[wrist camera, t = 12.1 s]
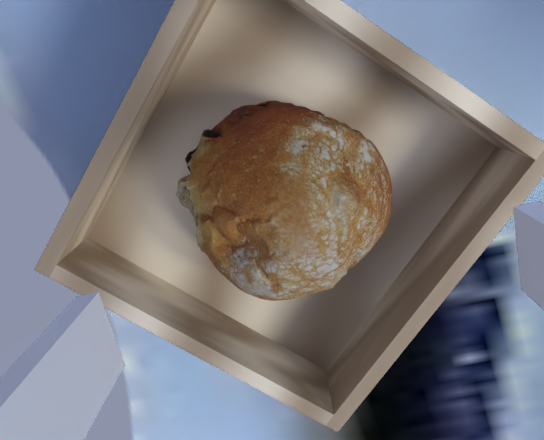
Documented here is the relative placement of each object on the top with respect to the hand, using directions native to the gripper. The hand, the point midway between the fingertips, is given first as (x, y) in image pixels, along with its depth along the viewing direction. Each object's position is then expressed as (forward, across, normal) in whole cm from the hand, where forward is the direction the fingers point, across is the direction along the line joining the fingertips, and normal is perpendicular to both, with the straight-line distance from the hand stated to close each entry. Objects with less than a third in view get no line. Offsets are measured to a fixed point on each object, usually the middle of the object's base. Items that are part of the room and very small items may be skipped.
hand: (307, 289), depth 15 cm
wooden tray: (+13, +1, 0) cm, 13 cm away
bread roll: (+12, +1, -1) cm, 12 cm away
